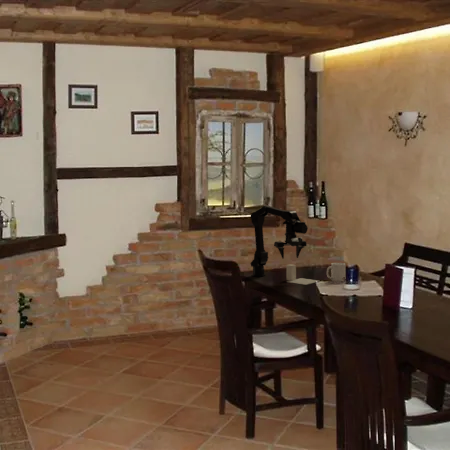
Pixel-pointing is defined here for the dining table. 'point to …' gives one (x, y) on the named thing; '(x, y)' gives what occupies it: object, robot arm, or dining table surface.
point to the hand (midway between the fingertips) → (290, 258)
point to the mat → (303, 281)
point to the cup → (337, 271)
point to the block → (291, 272)
